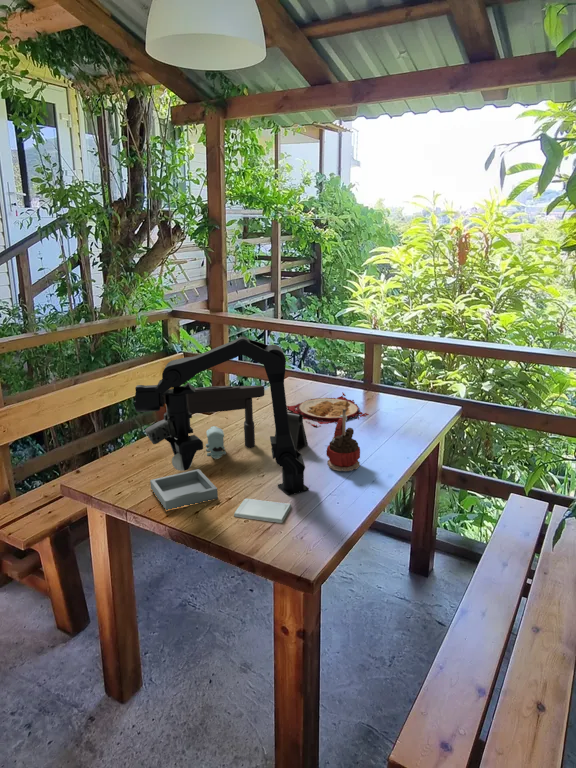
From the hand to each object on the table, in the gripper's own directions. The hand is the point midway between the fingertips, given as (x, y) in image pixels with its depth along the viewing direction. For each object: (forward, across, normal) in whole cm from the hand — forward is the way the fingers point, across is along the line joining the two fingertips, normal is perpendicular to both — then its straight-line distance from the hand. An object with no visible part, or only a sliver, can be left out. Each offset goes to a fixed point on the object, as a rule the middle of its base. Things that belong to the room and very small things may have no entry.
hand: (182, 465), depth 145 cm
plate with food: (+10, -37, +71) cm, 80 cm away
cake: (+9, +7, +47) cm, 48 cm away
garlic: (+1, 0, 0) cm, 1 cm away
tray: (+8, 0, 0) cm, 8 cm away
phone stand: (+9, -13, +41) cm, 44 cm away
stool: (+9, -25, +19) cm, 32 cm away
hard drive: (+9, +19, +14) cm, 25 cm away
